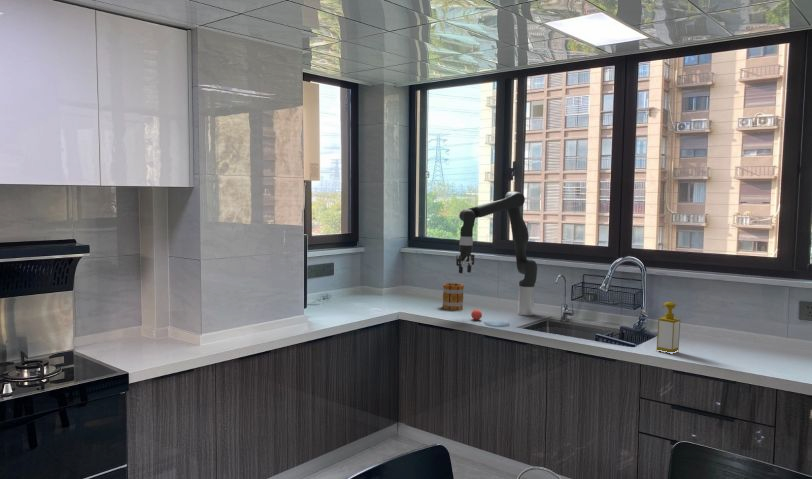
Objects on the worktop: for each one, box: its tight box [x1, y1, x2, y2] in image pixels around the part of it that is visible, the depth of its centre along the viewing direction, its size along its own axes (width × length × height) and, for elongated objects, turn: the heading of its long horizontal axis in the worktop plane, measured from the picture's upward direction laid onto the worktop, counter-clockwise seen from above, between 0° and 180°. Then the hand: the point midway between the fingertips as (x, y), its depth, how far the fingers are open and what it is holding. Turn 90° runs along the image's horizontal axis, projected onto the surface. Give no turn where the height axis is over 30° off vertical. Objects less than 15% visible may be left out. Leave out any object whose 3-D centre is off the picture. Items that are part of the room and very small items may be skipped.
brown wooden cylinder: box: [441, 282, 465, 311], centre depth 382 cm, size 20×14×15 cm
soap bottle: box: [656, 301, 681, 352], centre depth 281 cm, size 7×13×24 cm, turn 134°
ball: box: [471, 308, 483, 321], centre depth 345 cm, size 6×6×6 cm
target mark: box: [483, 320, 510, 328], centre depth 335 cm, size 14×14×1 cm
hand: (464, 272), depth 350 cm, fingers open, 7 cm apart
